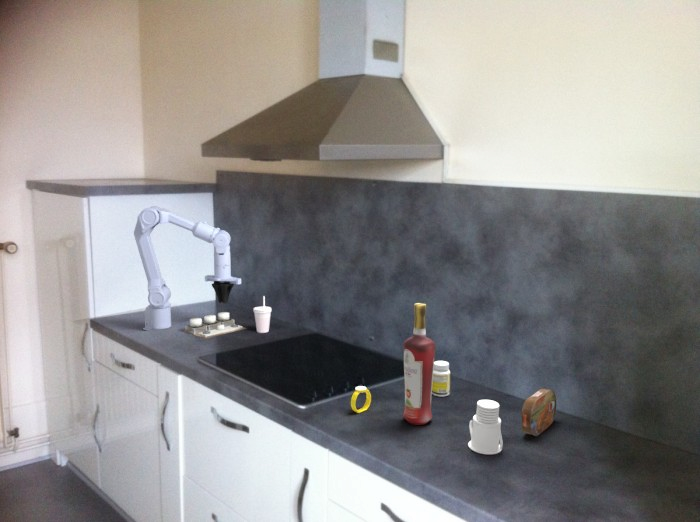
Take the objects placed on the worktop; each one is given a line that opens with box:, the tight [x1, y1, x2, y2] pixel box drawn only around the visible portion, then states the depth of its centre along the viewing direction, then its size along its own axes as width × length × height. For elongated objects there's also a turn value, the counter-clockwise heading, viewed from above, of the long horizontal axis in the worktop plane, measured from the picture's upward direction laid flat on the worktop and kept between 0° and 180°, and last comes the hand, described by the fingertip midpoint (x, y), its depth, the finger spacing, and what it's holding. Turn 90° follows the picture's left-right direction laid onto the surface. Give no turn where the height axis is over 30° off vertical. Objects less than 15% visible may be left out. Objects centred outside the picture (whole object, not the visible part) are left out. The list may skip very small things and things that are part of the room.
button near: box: [189, 317, 203, 327], centre depth 224 cm, size 4×4×2 cm
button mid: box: [203, 314, 217, 324], centre depth 228 cm, size 4×4×2 cm
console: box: [181, 317, 248, 339], centre depth 227 cm, size 14×18×4 cm
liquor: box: [402, 302, 436, 426], centre depth 150 cm, size 7×7×28 cm
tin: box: [521, 388, 557, 437], centre depth 147 cm, size 15×3×8 cm, turn 142°
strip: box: [198, 324, 244, 337], centre depth 225 cm, size 4×16×2 cm, turn 139°
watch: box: [350, 385, 372, 414], centre depth 157 cm, size 6×3×6 cm, turn 136°
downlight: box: [467, 399, 504, 455], centre depth 137 cm, size 8×7×10 cm
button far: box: [217, 311, 230, 321], centre depth 233 cm, size 4×4×2 cm
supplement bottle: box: [432, 360, 451, 398], centre depth 169 cm, size 5×5×8 cm
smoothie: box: [252, 295, 273, 334], centre depth 225 cm, size 6×6×14 cm
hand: (223, 302), depth 232 cm, fingers closed
